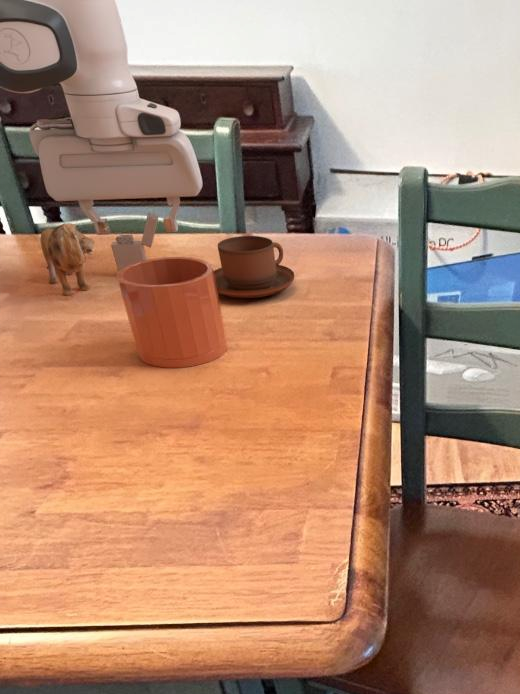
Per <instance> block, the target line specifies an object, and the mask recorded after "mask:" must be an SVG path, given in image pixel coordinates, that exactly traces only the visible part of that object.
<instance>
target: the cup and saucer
mask: <svg viewBox="0 0 520 694" xmlns="http://www.w3.org/2000/svg"><path fill="white" fill-rule="evenodd" d="M275 249H277V250H278V258H277V259H276V255H275ZM217 250H218V255H219V260H220V266H221V267H220V268H217V269H214V275H215V281H216V286H217V291H218V294H220V295H223V296H225V297H231V298H237V299H255V298H264V297H268V296H272V295H276V294H278V293H280V292H282V291H284V290H286V289H287V288H289V287H290V286H291V284H292V283H293V282H294V280H295V271H293V270H292V269H291V268H289V267H287V266H285V265H281V263H282V262H283V259H284V249H283V247H282V244H280V243H279V242H276V241H275V242H273V240H272V239H271V238H268V237H264V236H258V235H239V236H233V237H228V238H225V239H222V240H220V241H219V242H218V243H217Z"/></svg>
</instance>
